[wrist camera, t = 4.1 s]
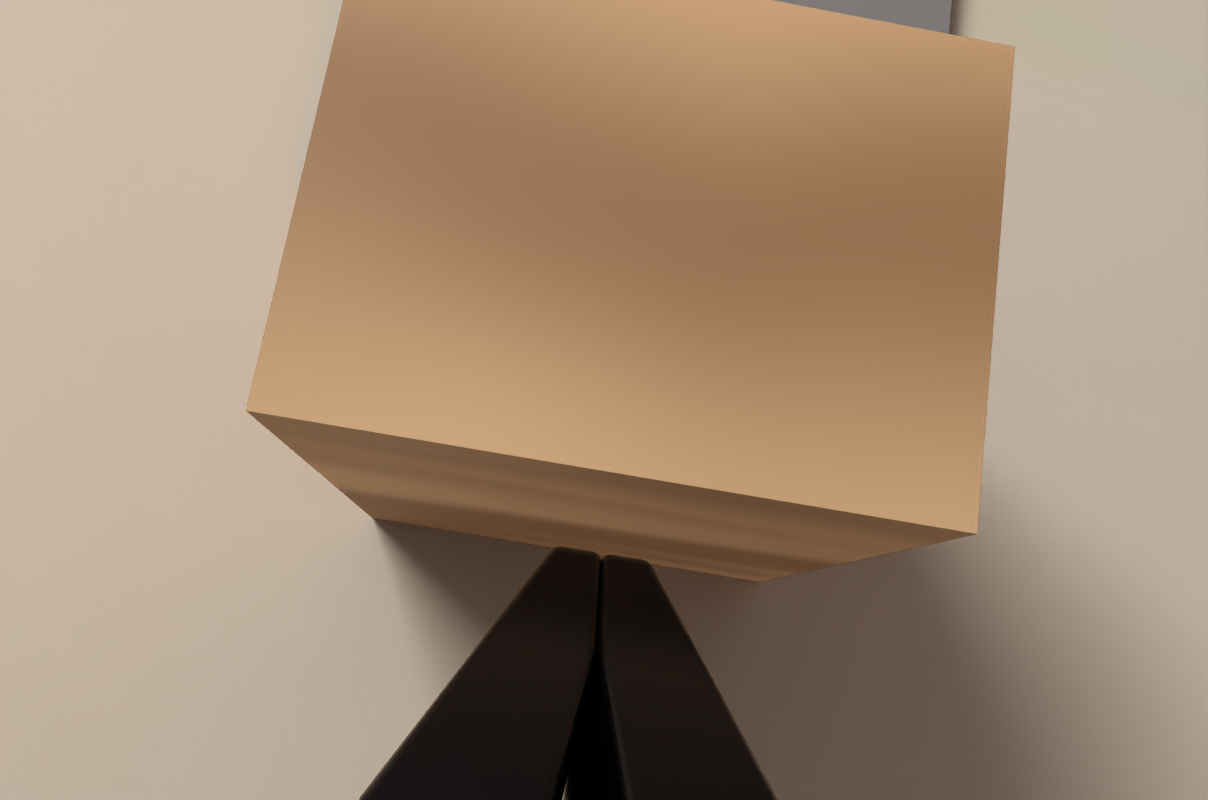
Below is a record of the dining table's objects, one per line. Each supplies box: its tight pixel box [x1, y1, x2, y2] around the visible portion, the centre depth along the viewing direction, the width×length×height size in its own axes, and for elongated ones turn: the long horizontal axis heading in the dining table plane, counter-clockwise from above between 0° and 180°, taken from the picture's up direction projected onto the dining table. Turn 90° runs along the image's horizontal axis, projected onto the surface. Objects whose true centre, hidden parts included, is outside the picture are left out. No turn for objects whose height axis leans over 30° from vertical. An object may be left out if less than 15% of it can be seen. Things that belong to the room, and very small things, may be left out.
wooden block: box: [246, 0, 1015, 582], centre depth 13 cm, size 4×6×8 cm
